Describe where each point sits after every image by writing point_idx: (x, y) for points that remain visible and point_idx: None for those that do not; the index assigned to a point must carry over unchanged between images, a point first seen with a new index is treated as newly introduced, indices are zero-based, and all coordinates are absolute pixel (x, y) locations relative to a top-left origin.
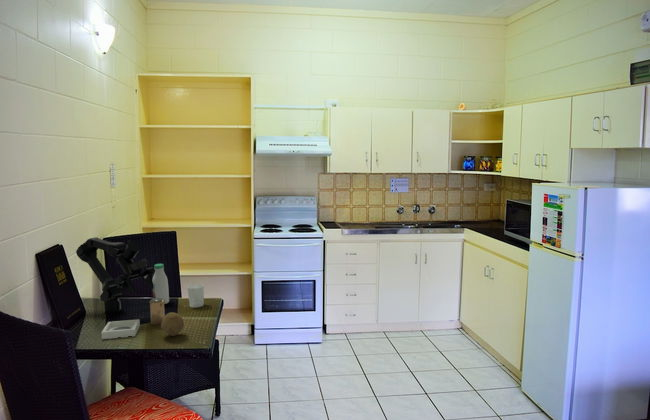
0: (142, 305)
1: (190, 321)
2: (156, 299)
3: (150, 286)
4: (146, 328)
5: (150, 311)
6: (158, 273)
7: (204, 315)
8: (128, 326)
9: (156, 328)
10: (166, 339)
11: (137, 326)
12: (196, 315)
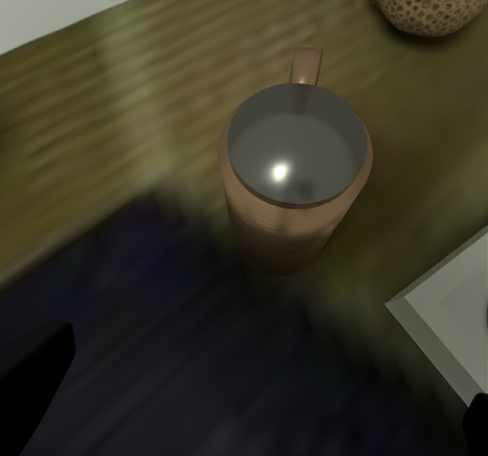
0: None
1: (196, 74)
2: (290, 146)
3: (24, 417)
4: (398, 223)
5: (334, 229)
6: None
7: (85, 66)
8: (477, 339)
9: None
10: None
11: (470, 242)
12: (94, 102)
